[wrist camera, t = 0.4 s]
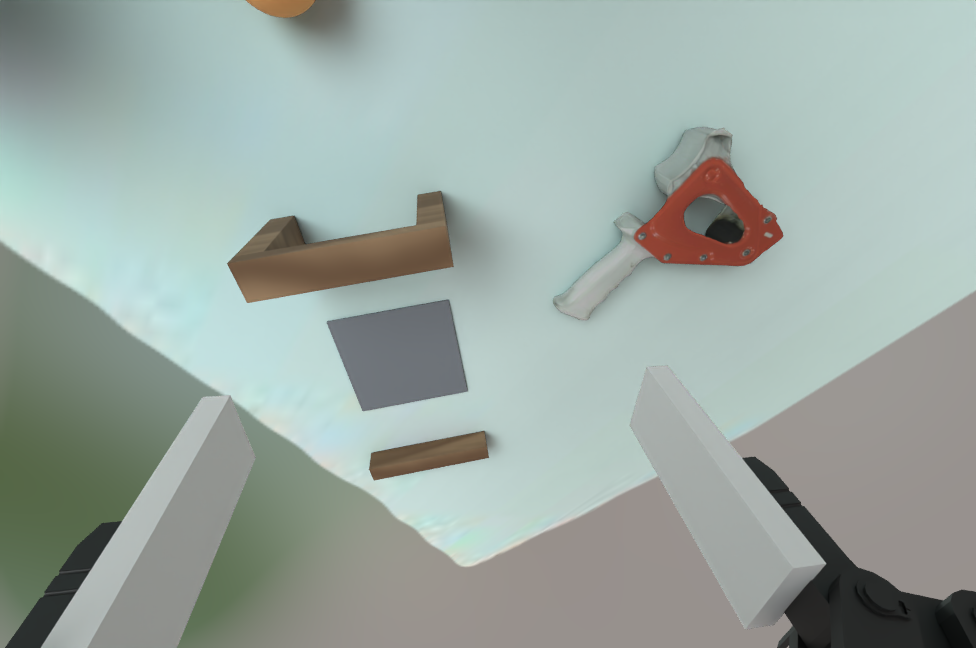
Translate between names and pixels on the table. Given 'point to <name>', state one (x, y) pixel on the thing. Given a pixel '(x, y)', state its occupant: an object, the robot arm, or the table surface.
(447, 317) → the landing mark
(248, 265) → the bridge
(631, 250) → the tape dispenser
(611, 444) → the table surface
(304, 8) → the ball
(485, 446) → the brown wooden bar
